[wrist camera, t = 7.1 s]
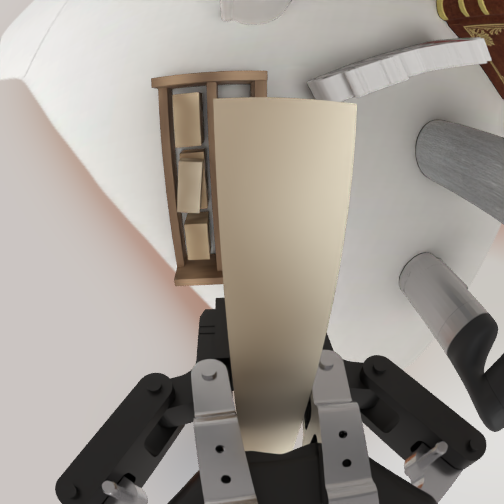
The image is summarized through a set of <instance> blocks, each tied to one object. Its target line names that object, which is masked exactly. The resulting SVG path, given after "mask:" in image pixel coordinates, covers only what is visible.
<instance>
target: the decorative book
mask: <svg viewBox="0 0 504 504" xmlns="http://www.w3.org/2000/svg"><path fill="white" fill-rule="evenodd" d="M437 10H438V14H439V16H440V17H441V18H442V19H443V20H444V21H447V23H448V25H449V26H450V28H451V29H452V30H453V31H454V32H455V33H456V34H457V36H458V37H459V38H476V37H480V38H484V40H485V43H486V45H487V48H488V51H489V54H490V57H491V61H487V63H485V64H480V65H481V67H482V68H483V70H484V71H485V73H486V74H487V76H488V77H489V79H490V80H491V82H492V83H493V85H494V86H495V88H496V89H497V91H498V92H499V94H500V95H501V97H502V98H503V99H504V0H437Z"/></svg>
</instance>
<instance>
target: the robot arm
mask: <svg viewBox="0 0 504 504" xmlns="http://www.w3.org/2000/svg"><path fill="white" fill-rule="evenodd" d="M399 286H400V289H401V290H402V292H403V293H404V294H405V296H406V297H407V298H408V300H409V301H410V303H411V304H412V305H413V307H414V308H415V309H416V311H417V312H418V314H419V315H420V316H421V318H422V319H423V321H424V322H425V323H426V325H427V326H428V328H429V329H430V331H431V332H432V334H433V335H434V337H435V338H436V339H437V341H438V342H439V344H440V345H441V347H442V348H443V350H444V351H445V353H446V355H447V356H448V358H449V359H450V361H451V362H452V364H453V365H454V368H455V369H456V371H457V373H458V375H459V376H460V378H461V380H462V382H463V383H464V385H465V387H466V389H467V391H468V393H469V395H470V397H471V400H472V402H473V404H474V406H475V408H476V410H477V412H478V414H479V416H480V418H481V420H482V421H483V423H484V424H485V426H486V427H487V428H488V429H490V430H491V431H494V432H496V431H499V430H501V429H502V428H504V354H503V355H502V356H501V357H500V358H499V359H498V360H497V361H496V362H495V363H494V364H493V365H492V366H491V367H490V368H489V369H488V370H487V371H486V372H485V373H484V366H485V362H486V359H487V356H488V353H489V351H490V349H491V347H492V345H493V343H494V341H495V339H496V336H497V333H498V326H497V323H496V322H495V320H494V319H493V318H492V317H491V315H490V314H489V313H488V312H487V311H486V310H485V309H484V307H483V306H482V305H481V304H480V303H479V302H478V301H477V300H476V298H475V297H474V296H473V295H472V294H471V293H470V292H469V291H468V287H467V285H466V284H465V283H464V282H463V281H462V280H461V279H460V278H459V277H458V276H457V275H456V274H455V273H454V272H453V271H452V270H451V269H450V268H449V267H448V266H447V265H446V264H445V263H444V262H443V261H442V260H441V259H437V258H436V257H435V256H434V255H433V254H431V253H423V254H420V255H418V256H416V257H414V258H413V259H412V260H411V261H410V262H409V263H408V264H407V265H406V266H405V268H404V269H403V271H402V273H401V276H400V280H399ZM232 391H234V387H233V378H232V369H231V359H230V349H229V339H228V329H227V318H226V307H225V298H216V308H215V309H206V310H205V311H204V312H203V313H202V315H201V316H200V322H199V335H198V347H197V361H196V364H195V366H194V367H193V369H192V370H191V371H190V372H188V373H186V374H184V375H182V376H179V377H175V378H171V379H170V378H169V377H167V376H166V375H164V374H161V373H151V374H148V375H146V376H144V378H142V379H141V380H140V381H139V382H138V384H137V385H136V386H135V387H134V389H133V390H132V391H131V392H130V393H129V395H128V396H127V397H126V398H125V399H124V401H123V402H122V403H121V404H120V405H119V407H118V408H117V409H116V410H115V411H114V413H113V414H112V415H111V416H110V417H109V419H108V420H107V421H106V422H105V424H104V425H103V426H102V427H101V428H100V429H99V431H98V432H97V433H96V434H95V436H94V437H93V438H92V439H91V440H90V441H89V443H88V444H87V445H86V446H85V448H84V449H83V450H82V451H81V452H80V454H79V455H78V456H77V457H76V459H75V460H74V461H73V462H72V463H71V465H70V466H69V467H68V468H67V469H66V471H65V472H64V473H63V474H62V475H61V477H60V478H59V479H58V481H57V483H56V487H55V490H56V495H57V497H58V499H59V500H60V502H61V503H62V504H147V503H148V499H147V495H146V493H145V491H144V490H143V489H142V487H143V485H144V484H145V482H146V481H147V480H148V478H149V477H150V475H151V474H152V473H153V471H154V470H155V468H156V467H157V465H158V464H159V462H160V461H161V460H162V458H163V457H164V455H165V454H166V452H167V451H168V449H169V448H170V446H171V445H172V443H173V442H174V441H175V439H176V438H177V436H178V435H179V433H180V432H181V430H182V429H183V427H184V426H185V424H187V423H191V422H194V433H195V441H196V449H197V457H198V464H199V471H198V472H197V473H196V474H195V475H194V476H193V477H192V478H191V479H190V480H189V481H188V482H187V484H186V485H185V486H184V487H183V488H182V489H181V490H180V491H179V492H178V493H177V494H176V495H175V496H174V497H173V498H172V499H171V500H170V502H169V503H168V504H438V502H439V501H440V500H441V498H442V497H443V496H444V495H445V493H446V492H447V491H448V489H449V488H450V487H451V486H452V484H453V483H454V481H455V480H456V479H457V477H458V476H459V474H460V473H461V472H462V470H463V469H465V468H466V467H468V466H469V465H471V464H472V463H474V462H475V461H477V460H478V459H480V458H481V457H482V456H483V454H484V453H485V450H486V440H485V437H484V436H483V435H482V434H481V433H480V432H479V431H478V430H476V429H475V428H474V427H473V426H471V425H470V424H469V423H468V422H467V421H465V420H464V419H463V418H461V417H460V416H459V415H458V414H457V413H455V412H454V411H453V410H452V409H450V408H449V407H448V406H447V405H445V404H444V403H443V402H442V401H440V400H439V399H438V398H437V397H435V396H434V395H433V394H432V393H430V392H429V391H428V390H427V389H425V388H424V387H423V386H422V385H420V384H419V383H418V382H417V381H415V380H414V379H413V378H412V377H410V376H409V375H408V374H407V373H405V372H404V371H403V370H402V369H400V368H399V367H398V366H397V365H395V364H394V363H393V362H392V361H390V360H389V359H388V358H386V357H384V356H380V355H374V356H371V357H369V358H367V359H366V360H365V362H364V363H359V362H350V361H346V360H343V359H342V358H341V356H340V355H339V354H337V353H336V352H334V351H333V348H332V346H331V343H330V340H329V338H328V335H327V333H326V336H325V340H324V345H323V349H322V353H321V357H320V361H319V364H318V368H317V372H316V376H315V379H314V383H313V387H312V390H311V394H310V397H309V400H308V404H307V407H306V410H305V414H304V417H303V443H302V447H300V448H297V449H295V450H292V451H289V452H287V453H284V454H274V453H265V452H258V451H245V450H244V445H243V441H242V437H241V432H240V427H239V423H238V418H237V414H236V412H235V407H234V402H233V395H232ZM362 422H363V423H364V424H365V425H366V426H368V427H369V428H370V429H371V430H372V431H373V432H374V433H375V434H376V435H377V436H378V437H380V439H382V440H383V441H384V442H385V443H386V444H387V445H388V446H389V447H390V448H392V449H393V450H394V451H395V452H396V453H397V454H398V455H399V456H400V457H402V458H403V459H404V460H405V464H404V469H405V474H406V475H407V476H409V478H410V479H411V483H412V484H411V483H409V482H407V481H406V480H404V479H402V478H401V477H399V476H398V475H396V474H394V473H393V472H391V471H389V470H388V469H386V468H385V467H383V466H382V465H380V464H379V463H377V462H375V461H374V460H373V459H371V458H370V457H368V451H367V446H366V440H365V435H364V430H363V424H362Z"/></svg>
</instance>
